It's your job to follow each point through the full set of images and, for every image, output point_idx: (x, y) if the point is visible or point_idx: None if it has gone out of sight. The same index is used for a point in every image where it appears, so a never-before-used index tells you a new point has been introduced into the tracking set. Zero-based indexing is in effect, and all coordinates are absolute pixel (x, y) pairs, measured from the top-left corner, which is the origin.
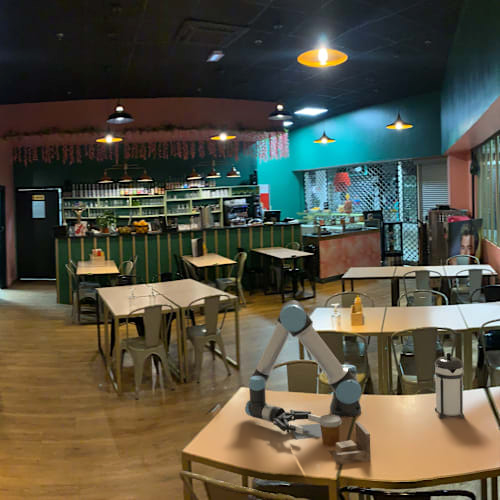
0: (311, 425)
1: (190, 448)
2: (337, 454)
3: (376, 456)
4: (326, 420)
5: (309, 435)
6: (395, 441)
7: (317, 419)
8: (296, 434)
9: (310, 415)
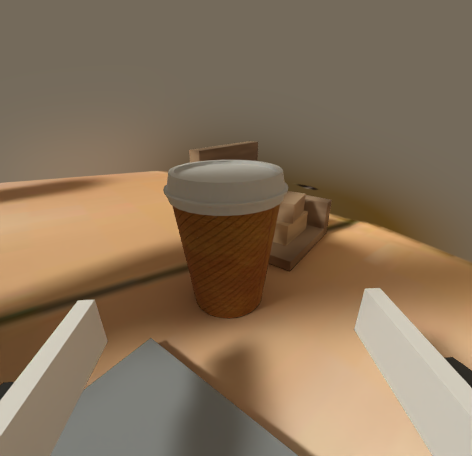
0: None
1: None
2: (329, 200)
3: None
4: (252, 174)
5: (205, 443)
6: (107, 220)
7: (86, 342)
8: None
9: (10, 430)
